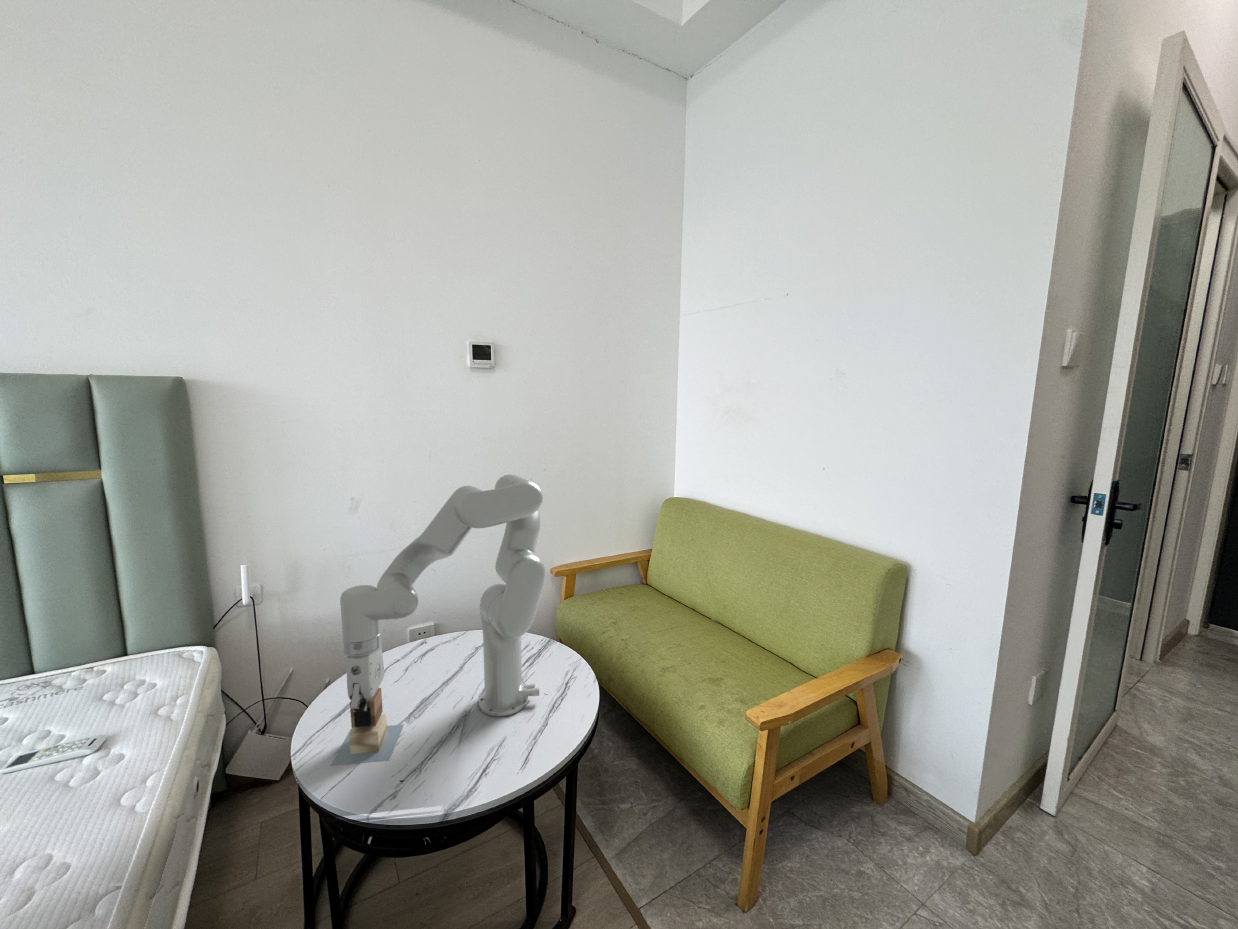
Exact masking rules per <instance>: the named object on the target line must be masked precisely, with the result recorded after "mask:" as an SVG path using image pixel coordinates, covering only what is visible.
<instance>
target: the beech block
mask: <svg viewBox="0 0 1238 929" xmlns="http://www.w3.org/2000/svg"><path fill="white" fill-rule="evenodd" d="M387 723H388V722H387V714H384V713H382V714H381V716H380V718H379V720H378V722H377V724H376V726H368V727H355V728H352V727H351V728H350V730H351V731H350V730H349V732H350V733H349V732H348V733H349V741H350V754H360V753H371V752H379V751H380V749H381V747H382V744H383V742H384V740H385V738H386V735H387V726H388V724H387Z"/></svg>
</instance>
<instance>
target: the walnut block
mask: <svg viewBox="0 0 1238 929" xmlns="http://www.w3.org/2000/svg"><path fill="white" fill-rule="evenodd" d="M361 695H363V694H360V696H361ZM351 702H352V700H350V701H349V708H350V724H351V729H352V728H355V720H354V712H353V709H351ZM359 702H360V703H363V704H364V700H360V701H359ZM368 708H370V713H371V725H370V726H376V724H377V722H378V720H379V718H380V716H381V715H383V696H382V687H379V688H378V689H377V691H376V693H375V695H374V696H373V697H372V698H371V699H369V703H368ZM366 727H368V726H366Z"/></svg>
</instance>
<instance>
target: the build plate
mask: <svg viewBox="0 0 1238 929" xmlns="http://www.w3.org/2000/svg"><path fill="white" fill-rule="evenodd" d="M404 726H405V724H403V723H401V724H392V725H387V735H386V738H385V740H384V742H383V744H382V747H381V749H380V751H379V752H371V753H360V754H350V741H349V733H350V731H351V729H350V730H349V732H348V734H347V735H346V737H345V739H344V740H343V742H342V745H341V746H340V747H339V750H338V752H337V753H336V755H335V757H334V758H333V760H332V761H331V763H330V767H331V766H333V767H334V766H341V765H353V764H355V765H356V764H362V763H363V764H365V763H374V762H384V761H385V762H386V761H390V760H391V757H392V755H393V753H394V751H395V748H396V746H397V743H398V740H399V738H400V735H401V733H402V731H403V728H404Z"/></svg>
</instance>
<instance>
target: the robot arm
mask: <svg viewBox="0 0 1238 929" xmlns="http://www.w3.org/2000/svg"><path fill="white" fill-rule="evenodd" d="M542 503H543V493H542V490H541V488H540V487H539V486H538V485H537V484H536V483H534V481H531V480H529V479H526V478H524V477H522V476H519V475H516V474H505V475H502V476H501V477H499V479H498V480H497V481H496V483H495V486H494V488H493V489H487V490H482V489H480V488H478V487H476V486H472V485H463V486H460V487H459V488H457V489H456V490H454V491H453V493H452V494H451V495H450V496H449V498H448V499H447V501H445V503H444V504H443V506H442V507H441V508H440V510H439V511H438V512H437V513H436V515H435V516H434V517H433V519H432V520H431V521H430V522H429V524H428V525H427V526H426V528H425V529H424V531H423V532H422V533H421V534H420V535H419V536H418V537H417V538H415V539H414V540H413V541H412V542H410V543H409V544H408V545H407V546H406V547H405V548H404V549H402V550H401V551H400V552H399V553H398V554H397V556H395V558H394V559H393V560H392V562H391V563H390V565H389V566H388V567H387V569H385V571H384V572H383V574H382V575H381V576H380V578H379V580H378V581H377V585H376V587H375V586H373V585H369V584H361V585H355V586H352V587H349V588H347V589H346V590H344V591H343V592H342V593H341V595H340V598H339V600H340V601H339V602H340V604H339V605H340V617H341V630H342V645H343V654H344V655H345V656H346V657H347V658H346V690H347V696H348V699H349V700H350V702H351V700H352V702H351V709H353V712H354V720H355V727H366V726H370V725H371V713H370V708H368V703H369V699H371V698H372V697H373V696H374V695H375V693H376V691H377V689H378V688H380V687H381V683H382V682H383V680H384V679H385V678H384V677H385V666H384V655H383V649H382V645H383V644H382V642H383V641H382V640H383V639H382V627H381V626H382V624H381V623H382V622H381V621H383V620H385V621H387V620H388V621H389V620H399V619H404V618H407V617H409V616H411V615H412V614H414V612H416V610H417V608H418V606H419V601H420V600H419V595H418V593H417V592H416V590H415V588H414V586H413V585H414V583H415V582H416V581H417V579H419V577H420V575H421V574H422V573H423V572H424V571H425V570H426V569H427V568H428V567H429V566H430V565H431V564H433V563H434V562H437V561H439V560H443V559H446V558H449V557H451V556H452V555H454V553H455V552H456V551H457V549H458V548H459V547H460V545H461V544H462V542H463V541H464V540H465V538H466V537H467V536H468V534H469V533H470V531H472V529H486V528H490V527H495V526H498V525H502V524H505V523H506V524H505V529H504V534H503V536H502V541H501V543H500V546H499V551H498V555H497V557H496V560H495V566H494V567H495V573H496V574H497V576H498V577H499V578H500V579H501V580H502V581H503V582H504V583H505V584H504V583H496V584H493V585H490V586H489V587H488V588H486V590H484V592H483V593H482V596H481V598H480V602H479V614H480V622H481V629H482V640H483V642H482V644H483V646H482V647H483V675H484V676H483V678H484V679H483V681H484V692H482V694H481V695H480V697H479V699H478V707H479V710H480V711H481V712H482V713H483V714H485V715H488V716H489V717H490V716H491V717H506V716H511V715H513V714H516V713H518V712H520V711H521V710H523V709H524V708H525V706H527V704H528V701H529V697H540V687H536V685H535V683H530V684H526V683H524V680H525V679H524V678H523V672H522V669H523V668H522V636H523V635H525V634H526V633H527V632H528V631H529V630H530V628H531V626H532V624H533V622H534V619H535V618H536V615H537V611H538V608H539V603H540V600H541V598H542V593H543V590H544V587H545V582H546V567H545V565H544V563H543V561H542V560H541V558H539V557H538V556H537V555H535V552H536V546H537V543H538V538H539V534H540V528H541V514H540V508H541V506H542ZM360 694H363V695H361V696H360ZM360 700H364V704H363V703H360V702H359V701H360Z"/></svg>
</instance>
